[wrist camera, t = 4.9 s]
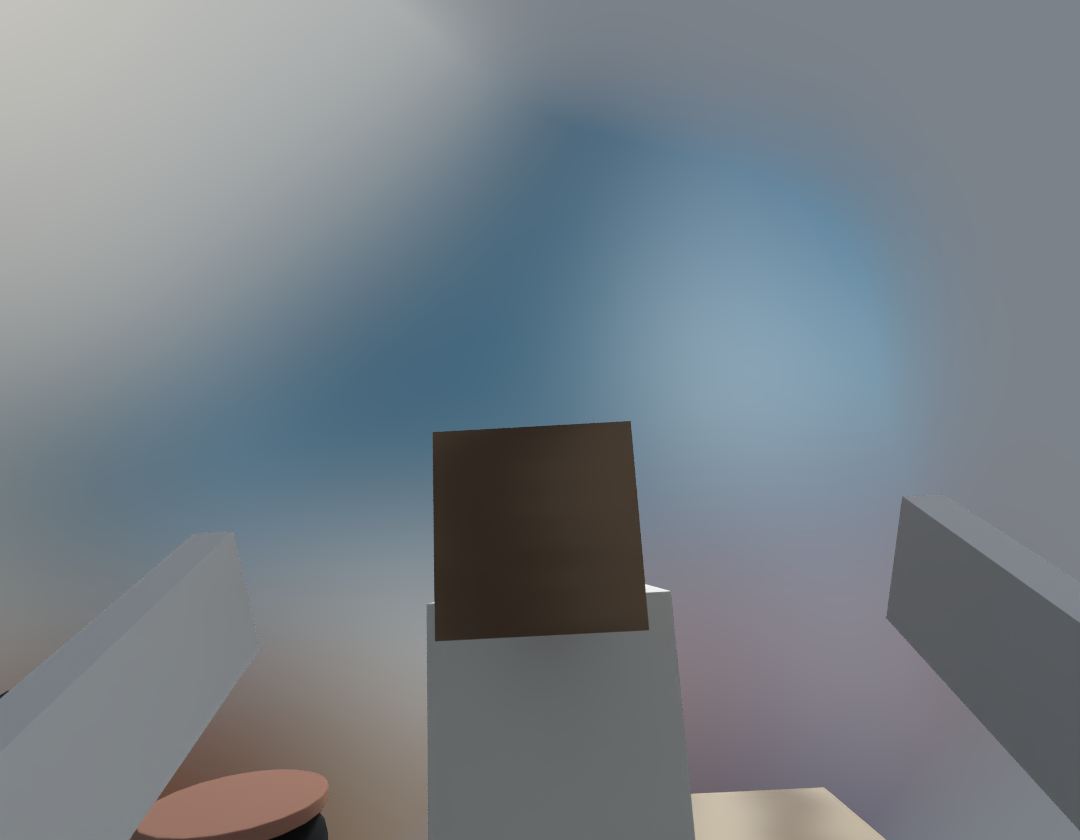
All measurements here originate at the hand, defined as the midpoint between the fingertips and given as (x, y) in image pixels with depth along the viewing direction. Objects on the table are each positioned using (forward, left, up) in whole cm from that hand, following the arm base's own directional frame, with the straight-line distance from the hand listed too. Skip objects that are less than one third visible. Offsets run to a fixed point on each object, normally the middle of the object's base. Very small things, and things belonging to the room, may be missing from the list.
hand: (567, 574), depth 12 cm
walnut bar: (-1, +11, -1) cm, 11 cm away
